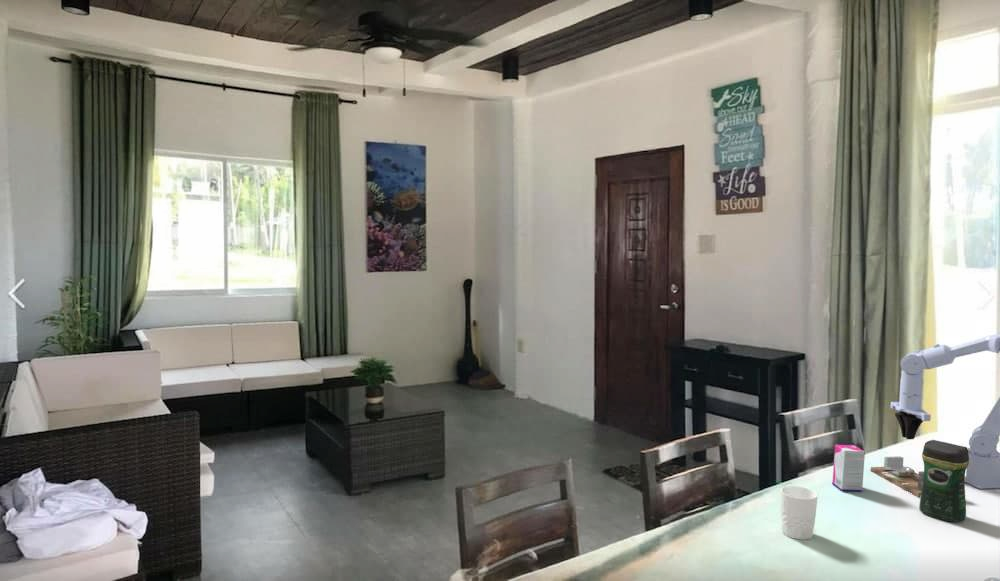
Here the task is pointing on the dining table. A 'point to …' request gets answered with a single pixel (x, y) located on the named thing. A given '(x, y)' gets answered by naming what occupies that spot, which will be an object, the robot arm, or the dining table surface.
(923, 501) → the coffee jar
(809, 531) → the white cup
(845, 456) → the supplement box
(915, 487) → the gauge frame
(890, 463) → the brushed steel block
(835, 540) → the dining table surface
